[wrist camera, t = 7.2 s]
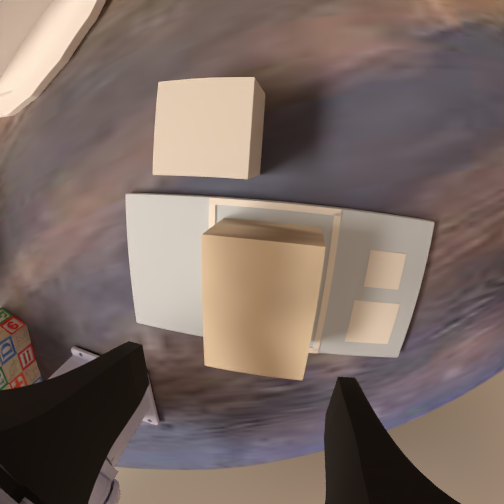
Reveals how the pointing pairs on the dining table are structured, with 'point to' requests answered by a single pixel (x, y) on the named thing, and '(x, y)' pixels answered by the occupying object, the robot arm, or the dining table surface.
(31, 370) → the stack of blocks
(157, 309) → the board
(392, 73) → the dining table surface
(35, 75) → the white wedge on plate
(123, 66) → the dining table surface
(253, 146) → the beige maple block
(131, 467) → the dining table surface
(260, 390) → the dining table surface
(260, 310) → the birch block
